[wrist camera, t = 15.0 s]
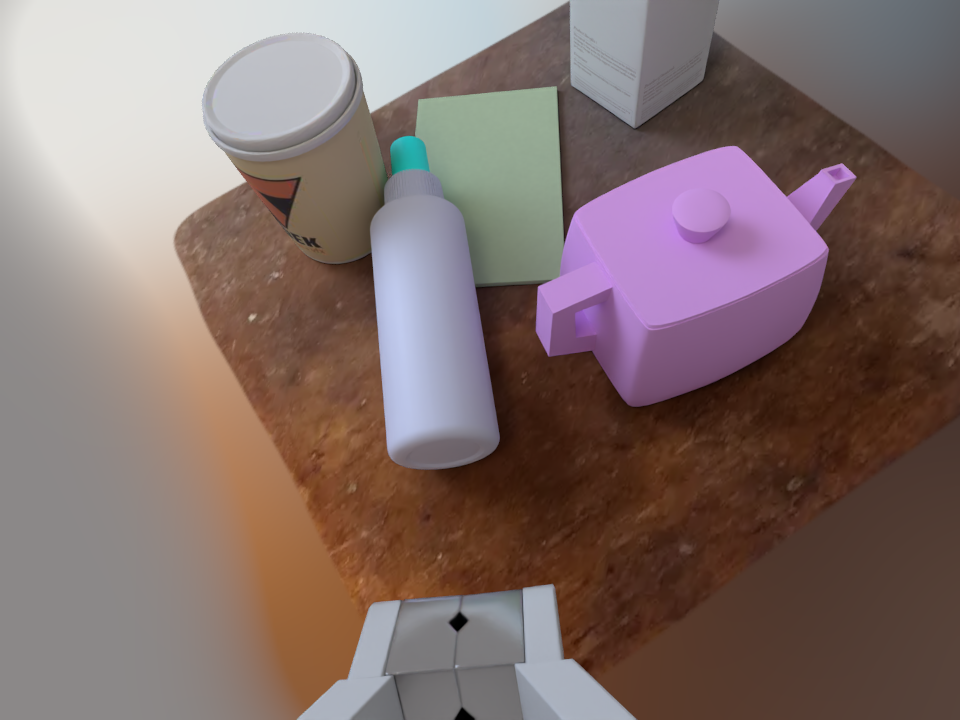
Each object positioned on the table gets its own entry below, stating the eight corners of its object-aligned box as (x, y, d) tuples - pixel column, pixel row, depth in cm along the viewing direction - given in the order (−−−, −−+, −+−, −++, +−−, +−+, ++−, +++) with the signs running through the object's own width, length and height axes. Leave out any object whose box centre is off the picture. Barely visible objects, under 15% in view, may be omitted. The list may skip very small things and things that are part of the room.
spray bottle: (438, 427, 29) (399, 99, 39) (365, 466, 33) (346, 157, 43) (524, 443, 33) (469, 142, 43) (451, 476, 37) (415, 192, 47)
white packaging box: (706, 81, 47) (747, -104, 36) (633, 132, 46) (652, -44, 35) (636, 37, 50) (654, -145, 39) (567, 84, 49) (564, -91, 38)
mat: (401, 291, 42) (400, 288, 42) (419, 103, 50) (418, 99, 50) (565, 282, 41) (565, 278, 40) (557, 90, 49) (556, 86, 48)
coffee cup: (260, 222, 47) (169, 88, 36) (360, 154, 49) (301, 7, 38) (326, 297, 43) (245, 172, 32) (433, 220, 45) (389, 77, 34)
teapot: (756, 201, 42) (807, 69, 33) (861, 323, 37) (955, 208, 28) (510, 307, 40) (492, 200, 31) (584, 448, 35) (588, 369, 26)
